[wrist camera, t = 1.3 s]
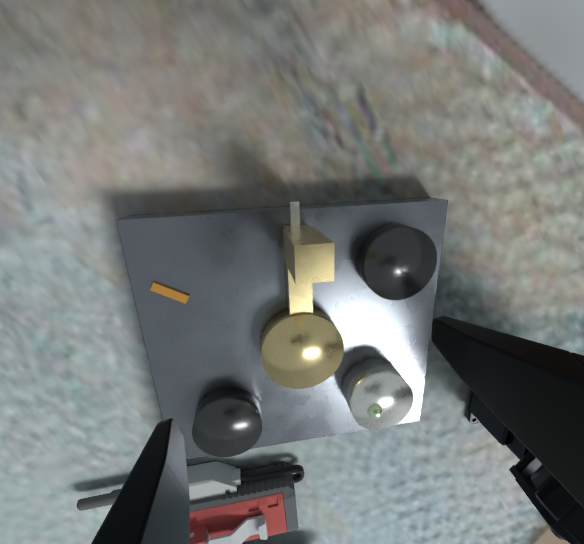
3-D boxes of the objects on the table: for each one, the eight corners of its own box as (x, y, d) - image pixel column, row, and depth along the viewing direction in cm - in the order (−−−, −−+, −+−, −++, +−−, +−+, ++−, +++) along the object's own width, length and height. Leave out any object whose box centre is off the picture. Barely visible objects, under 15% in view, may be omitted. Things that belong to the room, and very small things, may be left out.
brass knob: (337, 370, 24) (363, 426, 19) (263, 380, 23) (269, 442, 18) (339, 222, 20) (373, 239, 15) (249, 228, 19) (252, 249, 14)
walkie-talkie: (299, 439, 29) (81, 480, 27) (309, 483, 25) (51, 536, 22) (304, 500, 32) (108, 542, 29) (313, 549, 28) (86, 603, 25)
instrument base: (431, 191, 22) (481, 195, 18) (408, 404, 29) (439, 449, 24) (126, 208, 20) (89, 219, 15) (177, 441, 26) (163, 499, 22)
